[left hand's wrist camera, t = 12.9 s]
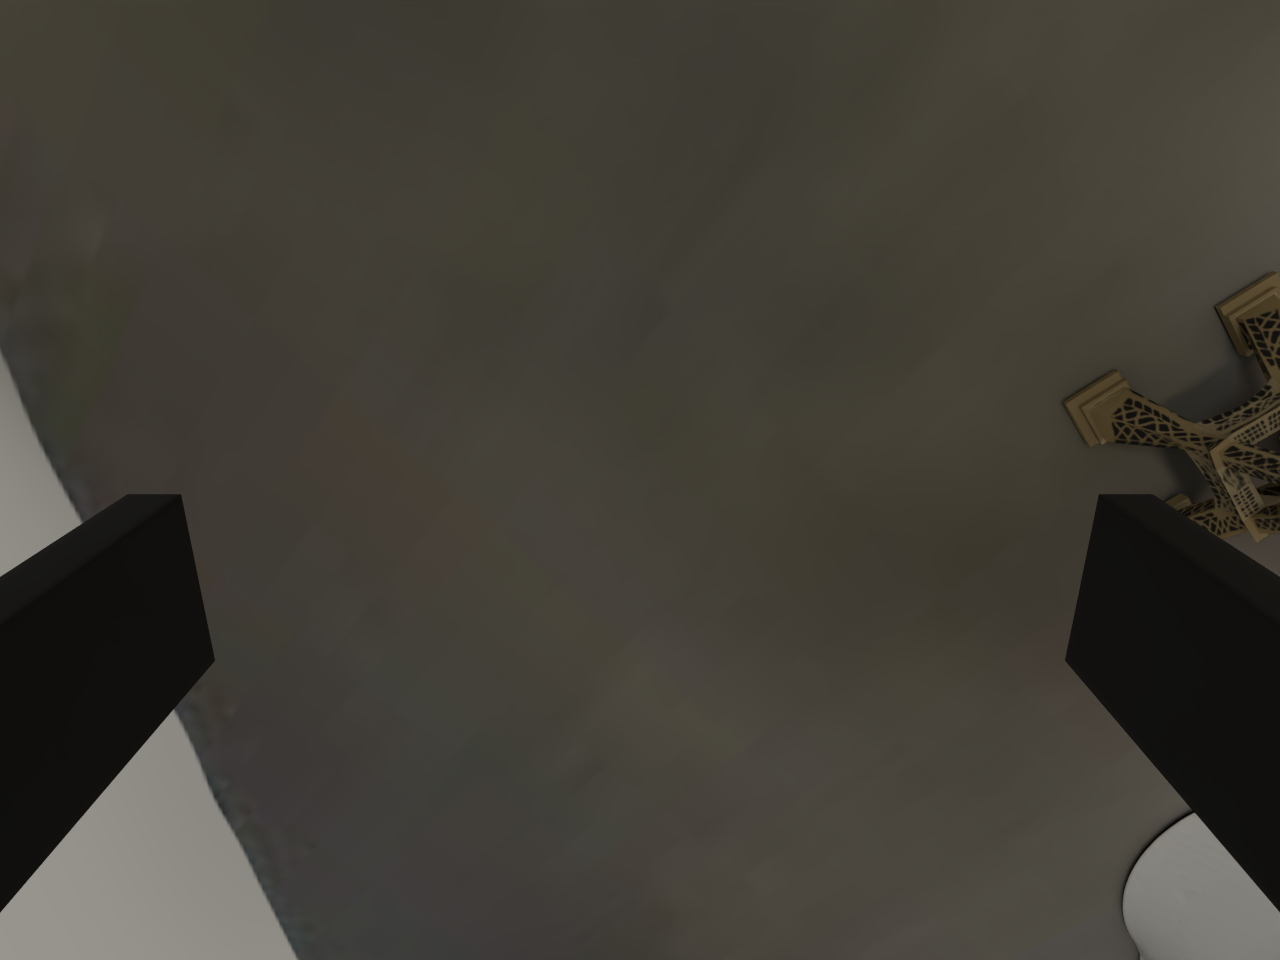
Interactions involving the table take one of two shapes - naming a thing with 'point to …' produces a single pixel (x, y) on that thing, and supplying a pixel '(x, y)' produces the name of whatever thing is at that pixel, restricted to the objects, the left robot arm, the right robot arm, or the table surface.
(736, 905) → the table surface
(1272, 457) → the eiffel tower
